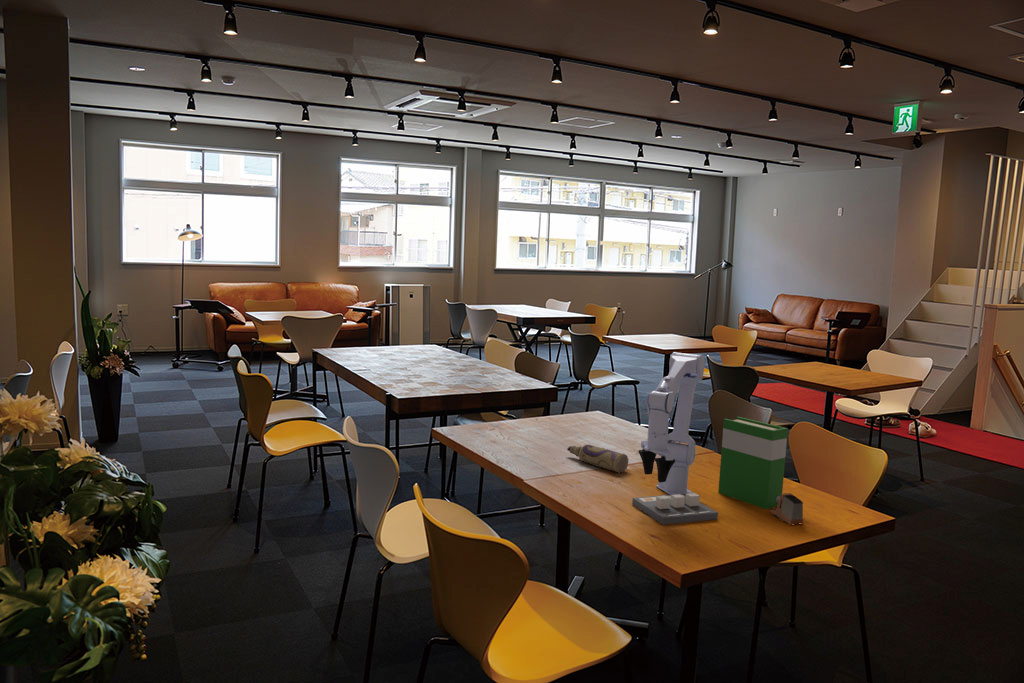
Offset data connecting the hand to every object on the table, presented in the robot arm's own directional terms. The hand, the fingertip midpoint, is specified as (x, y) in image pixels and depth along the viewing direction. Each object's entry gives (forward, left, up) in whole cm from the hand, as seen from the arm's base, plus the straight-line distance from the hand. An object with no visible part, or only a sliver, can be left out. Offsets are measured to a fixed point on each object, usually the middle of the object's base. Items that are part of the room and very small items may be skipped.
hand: (654, 477), depth 212 cm
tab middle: (+5, +5, -7) cm, 10 cm away
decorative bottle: (-46, +5, -10) cm, 47 cm away
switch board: (+3, +5, -9) cm, 11 cm away
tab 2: (+5, +10, -7) cm, 13 cm away
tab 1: (+5, 0, -7) cm, 9 cm away
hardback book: (-1, +35, -10) cm, 36 cm away
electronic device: (+17, +34, -10) cm, 39 cm away
